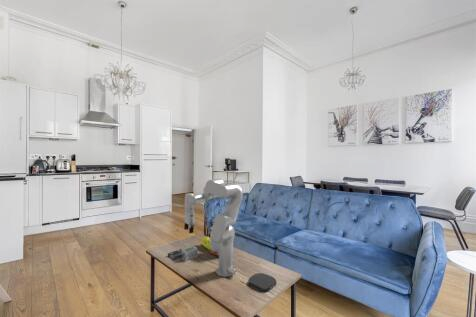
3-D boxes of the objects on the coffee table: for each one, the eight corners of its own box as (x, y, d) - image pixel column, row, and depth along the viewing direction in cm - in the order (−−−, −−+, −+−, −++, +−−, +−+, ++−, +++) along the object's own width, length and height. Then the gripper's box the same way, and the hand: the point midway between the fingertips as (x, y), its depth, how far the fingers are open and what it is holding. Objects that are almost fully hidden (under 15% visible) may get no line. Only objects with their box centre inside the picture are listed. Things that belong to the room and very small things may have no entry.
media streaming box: (258, 275, 145) (259, 270, 145) (278, 283, 135) (278, 278, 135) (245, 284, 133) (245, 279, 133) (265, 294, 124) (266, 289, 124)
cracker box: (209, 253, 177) (209, 227, 177) (214, 250, 182) (214, 225, 182) (222, 258, 168) (222, 230, 168) (227, 255, 173) (227, 229, 173)
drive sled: (187, 255, 172) (187, 252, 172) (174, 260, 163) (174, 256, 164) (181, 251, 178) (181, 248, 178) (167, 256, 169) (167, 253, 169)
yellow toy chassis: (201, 245, 193) (201, 235, 193) (206, 244, 196) (207, 234, 196) (209, 251, 180) (210, 241, 180) (215, 250, 183) (216, 240, 183)
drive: (197, 256, 170) (197, 247, 170) (185, 261, 162) (185, 252, 162) (193, 255, 173) (193, 246, 173) (181, 259, 165) (181, 250, 165)
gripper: (198, 211, 165) (197, 233, 165) (189, 206, 179) (188, 227, 179) (189, 212, 161) (188, 235, 161) (180, 207, 175) (180, 228, 175)
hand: (188, 231), depth 170 cm, fingers open, 9 cm apart
